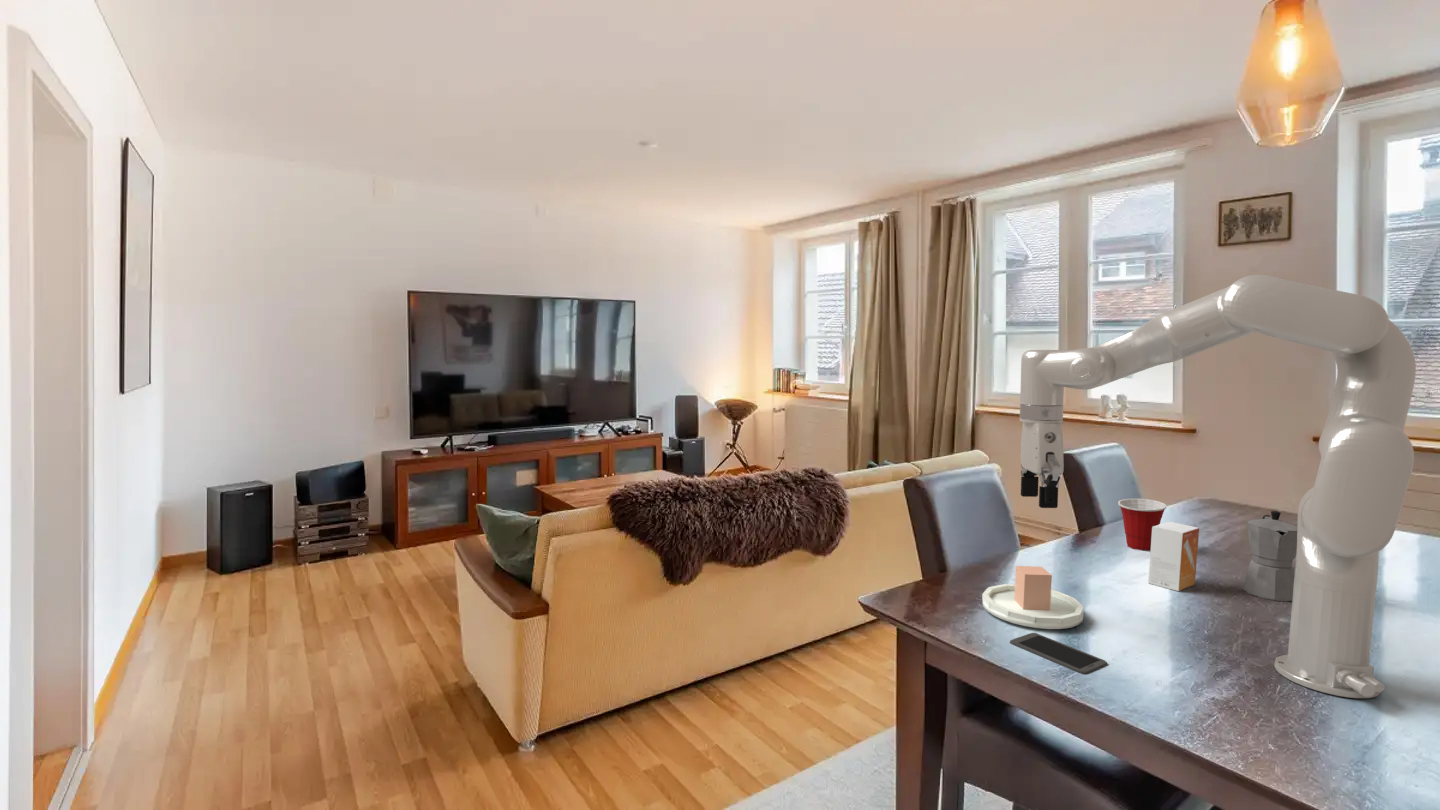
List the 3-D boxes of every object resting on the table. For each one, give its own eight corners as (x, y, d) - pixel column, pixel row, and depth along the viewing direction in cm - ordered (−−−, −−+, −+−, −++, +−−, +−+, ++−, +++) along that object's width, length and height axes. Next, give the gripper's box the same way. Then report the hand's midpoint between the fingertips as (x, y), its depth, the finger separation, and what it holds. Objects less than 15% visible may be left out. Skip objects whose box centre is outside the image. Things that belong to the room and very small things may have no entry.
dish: (1100, 634, 124) (1100, 620, 124) (998, 630, 126) (999, 616, 126) (1060, 597, 142) (1060, 585, 142) (971, 594, 144) (972, 582, 144)
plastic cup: (1106, 544, 180) (1108, 499, 179) (1132, 539, 185) (1135, 496, 184) (1146, 556, 171) (1149, 509, 170) (1173, 550, 175) (1176, 504, 174)
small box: (1179, 592, 146) (1183, 532, 145) (1147, 583, 151) (1151, 526, 150) (1196, 585, 150) (1200, 527, 149) (1164, 576, 156) (1168, 520, 154)
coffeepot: (1306, 608, 137) (1313, 521, 135) (1247, 599, 142) (1254, 515, 140) (1287, 584, 151) (1293, 505, 149) (1234, 577, 155) (1240, 500, 153)
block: (1050, 610, 131) (1051, 575, 131) (1023, 609, 132) (1024, 574, 131) (1040, 600, 136) (1041, 566, 136) (1014, 599, 137) (1015, 565, 136)
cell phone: (1032, 635, 125) (1033, 631, 125) (1109, 666, 113) (1109, 662, 113) (1007, 644, 121) (1007, 640, 121) (1084, 677, 109) (1084, 672, 109)
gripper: (1081, 418, 122) (1077, 512, 123) (1044, 410, 139) (1041, 492, 140) (1037, 418, 122) (1034, 512, 124) (1006, 410, 139) (1003, 492, 141)
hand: (1038, 501), depth 132 cm, fingers open, 9 cm apart
